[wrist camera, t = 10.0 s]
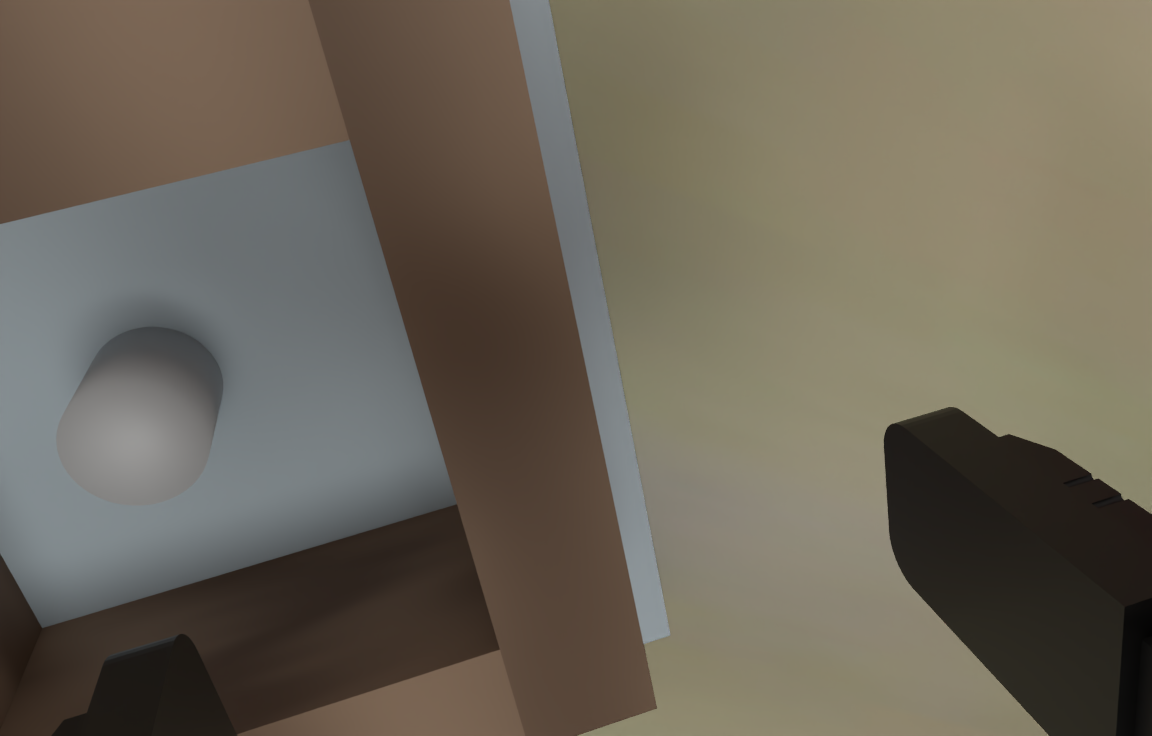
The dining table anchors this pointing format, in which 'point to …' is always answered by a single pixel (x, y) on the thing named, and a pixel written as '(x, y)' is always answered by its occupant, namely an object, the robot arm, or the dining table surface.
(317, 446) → the peg board
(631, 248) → the dining table surface
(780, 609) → the dining table surface
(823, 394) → the dining table surface
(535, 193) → the frame
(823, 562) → the dining table surface
